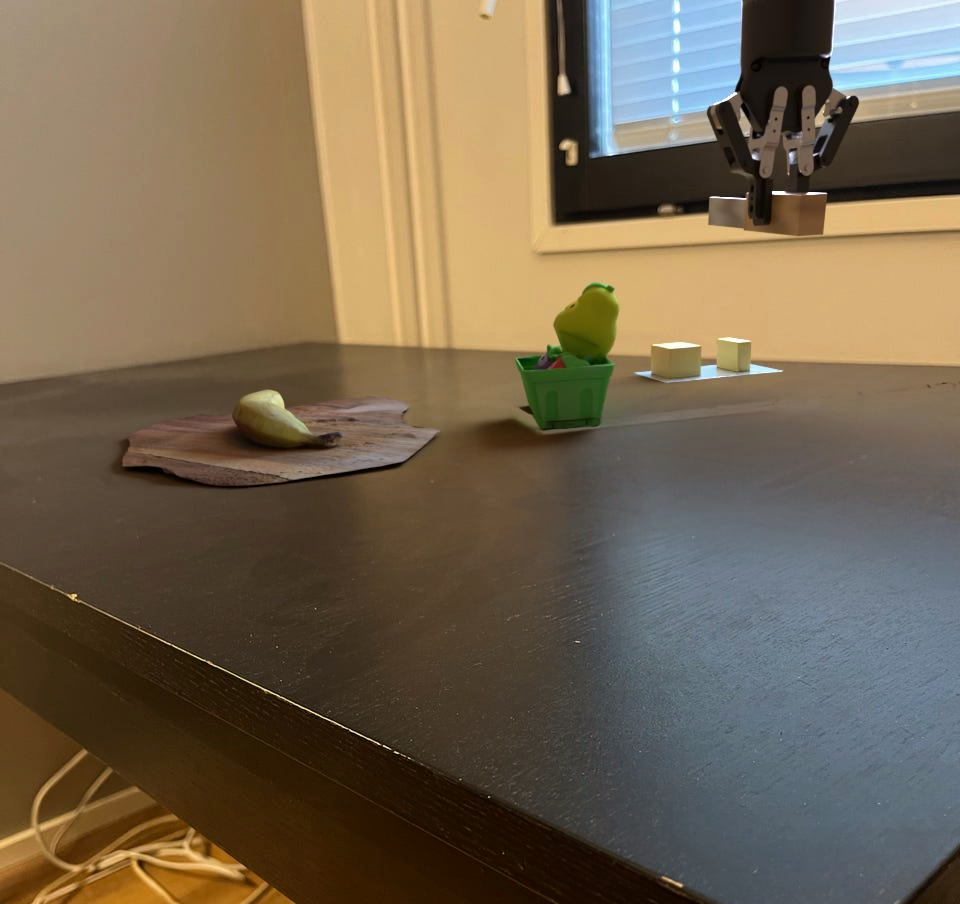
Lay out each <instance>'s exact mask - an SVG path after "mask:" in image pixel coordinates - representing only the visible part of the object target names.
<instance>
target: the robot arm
mask: <svg viewBox="0 0 960 904" xmlns="http://www.w3.org/2000/svg"><path fill="white" fill-rule="evenodd" d="M836 2H837V0H741V10H740V11H741V16H740V41H739V42H740V43H739V44H740V45H739V66H740V74H739V78H738V80H737V82H736V85H735V87H734V93H733V94H731V95H730V96H728V97H727V98H725V99H723V100H722V101H719V102H716V103H714V104H711V105H709V106H708V107H707V109H706V116H707V119H708V121H709V124H710V126H711V129H712V131H713V134H714V136H715V139H716V141H717V143H718V146H719V148H720V149H719V150H720V151H721V154H722V156H723V158H724V161H725V163H726V166H727V168H728V171H729V172H730V173H732V174H738V175H740V176H743V177H745V178H746V179H747V181H748V193H749V195H748V216H749V219H753V225H754V226H763V225H769V224H770V222H771V208H772V194H773V192H774V178H770V176H771V175H772V174H773V170H774V163H775V155H776V150H777V149H778V148H779V144H780V141H781V136H782V145H783V149H784V150H785V153H786V172H787V175H788V178H786V179H784V191H783V192H802V193H810V179H811V176H812V175H813V174H814V173H815V172H817V171H818V170H820V169H823V168H828V167H830V166H831V165H832V163H833V161H834V159H835V157H836V154H837V153H838V150H839V149H840V146H841V144H842V142H843V140H844V138H845V136H846V133H847V131H848V129H849V127H850V124H851V123H852V120H853V118H854V116H855V114H856V112H857V111H858V108H859V106H860V99H859V98H858V96H856V95H849V96H847V95H845V94H844V93H841V92H840V91H839V90H837V89H835V88H834V80H833V77H832V75H831V71H830V62H831V58H832V54H833V50H834V36H835V35H834V33H835V20H836V19H835V18H836ZM823 108H824V110H823V112H822V116H823V118H824V121H823V123H822V125H821V127H820V129H819V132H818V133H817V135H816V119H817V117H818V115H819V114H820V112H821V110H822V109H823ZM741 111H742V113H743V114H744V116H745V118H746V119H747V121H748V123H749V125H750V126H749V127H750V128H749V134H748V135H749V136H748V142H747V140H746V138H745V135H744V132H743V129H742V128H741V125H740V120H741V118H742V117H741V116H742V114H741Z"/></svg>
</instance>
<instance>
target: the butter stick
mask: <svg viewBox="0 0 960 904" xmlns="http://www.w3.org/2000/svg"><path fill="white" fill-rule="evenodd" d="M701 366H702V345H699V344H695V343H690V342H689V343H688V342H683V341H678V342H667V343H656V344H651V345H650V371H651V374H655V375H658V376H662V377H665V378H669V379H672V378H683V377H693V376H701Z"/></svg>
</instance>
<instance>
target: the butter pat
mask: <svg viewBox="0 0 960 904" xmlns="http://www.w3.org/2000/svg"><path fill="white" fill-rule="evenodd" d="M716 343H717V344H716V365H717V367H718V368H723V369H727V370H731V371H736V372H743V371H750V365H751V364H752V360H751V359H752V341H751V340H746V339H740V338H734V337H721V338H717V339H716Z"/></svg>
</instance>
